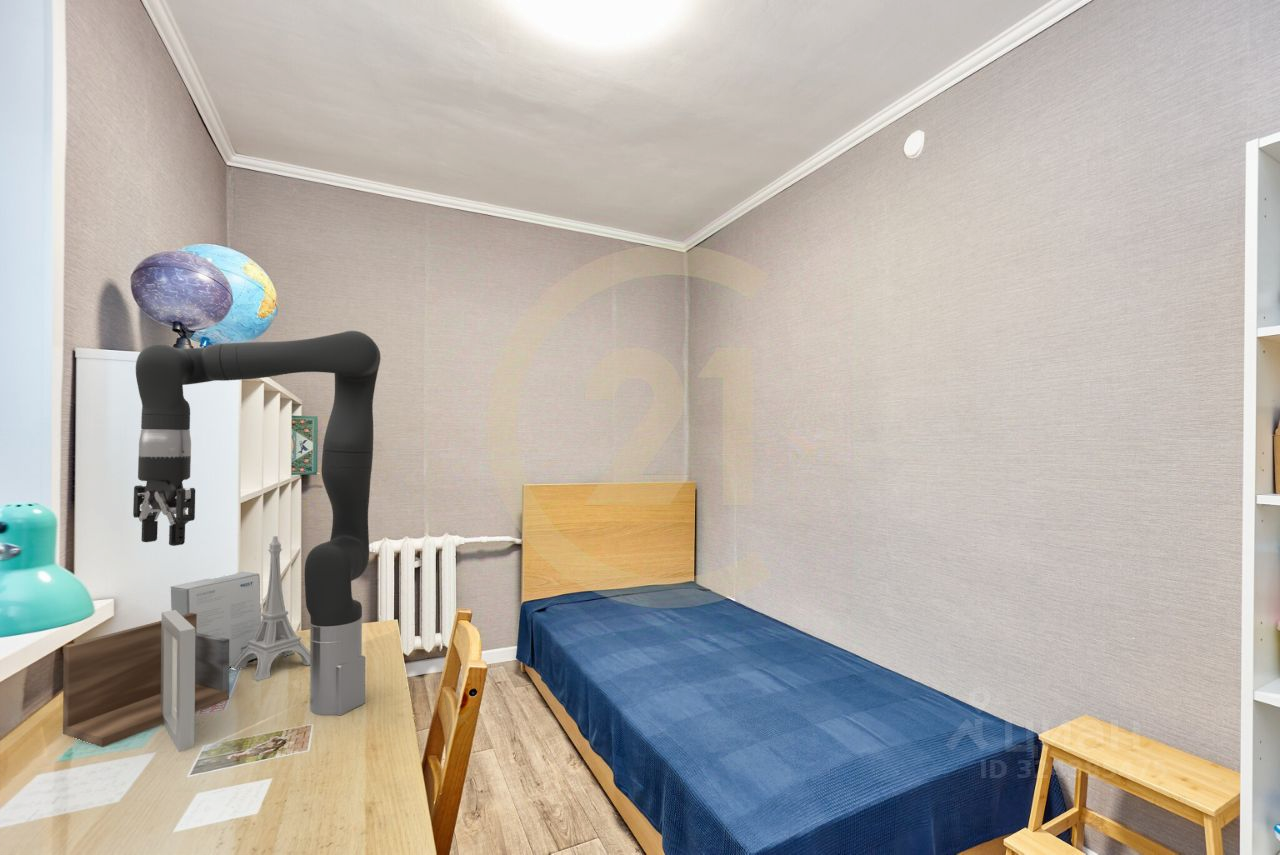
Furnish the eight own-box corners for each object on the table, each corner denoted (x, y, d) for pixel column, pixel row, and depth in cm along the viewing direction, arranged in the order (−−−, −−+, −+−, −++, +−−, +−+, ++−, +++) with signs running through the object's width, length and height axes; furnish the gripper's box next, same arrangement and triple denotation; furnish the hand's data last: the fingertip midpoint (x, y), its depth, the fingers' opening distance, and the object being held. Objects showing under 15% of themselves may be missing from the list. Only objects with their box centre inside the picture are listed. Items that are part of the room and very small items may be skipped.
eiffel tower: (319, 661, 139) (319, 534, 139) (258, 682, 128) (258, 543, 128) (288, 651, 146) (289, 530, 147) (228, 669, 135) (229, 538, 135)
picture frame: (160, 724, 110) (161, 612, 110) (179, 718, 112) (180, 608, 112) (178, 754, 99) (180, 631, 99) (199, 748, 101) (200, 627, 102)
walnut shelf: (229, 698, 119) (229, 619, 119) (102, 750, 100) (102, 655, 100) (191, 689, 124) (191, 612, 124) (62, 736, 104) (63, 645, 105)
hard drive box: (245, 652, 145) (244, 571, 145) (263, 657, 141) (261, 573, 142) (170, 675, 131) (169, 585, 132) (188, 680, 127) (186, 588, 128)
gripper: (212, 454, 109) (209, 543, 109) (163, 452, 115) (161, 537, 114) (167, 455, 102) (164, 550, 102) (117, 453, 108) (115, 543, 108)
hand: (162, 543), depth 108 cm, fingers open, 7 cm apart
